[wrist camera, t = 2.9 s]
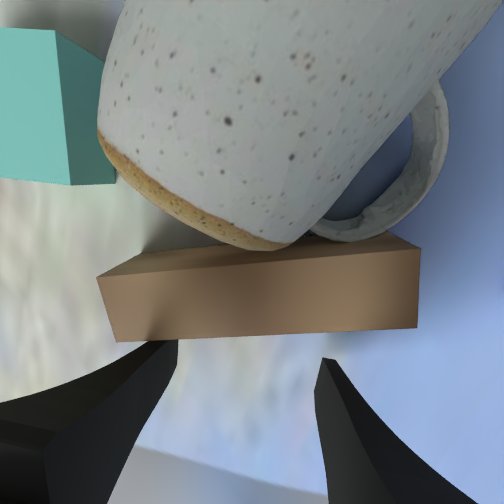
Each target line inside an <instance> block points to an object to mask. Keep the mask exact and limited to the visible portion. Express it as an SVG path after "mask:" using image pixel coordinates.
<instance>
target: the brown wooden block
mask: <svg viewBox="0 0 504 504" xmlns="http://www.w3.org/2000/svg"><path fill="white" fill-rule="evenodd" d="M420 253H421V248H419V247H417V246H415V245H413V244H411V243H409V242H407V241H405V240H403V239H401V238H399V237H398V236H396V235H394V234H392V233H390V232H388V231H385V232H383V233H382V234H379V235H377V236H374V237H372V238H369V239H366V240H360V241H355V242H341V241H333V240H330V239H328V238H325V237H321V236H319V235H317V236H307V237H299V238H298V239H297V240H296V241H294V242H293V243H292V244H290V245H289V246H287V247H284V248H281V249H278V250H274V251H255V250H247V249H243V248H240V247H237V246H233V245H231V244H228V245H218V246H209V247H199V248H189V249H179V250H169V251H159V252H149V253H141V254H139V255H137V256H135V257H133V258H131V259H129V260H127V261H126V262H124V263H122V264H120V265H118V266H116V267H114V268H113V269H111V270H109V271H107V272H105V273H103V274H101V275H100V276H98V277H96V279H97V282H98V285H99V288H100V292H101V295H102V298H103V301H104V304H105V308H106V311H107V314H108V317H109V321H110V324H111V327H112V330H113V333H114V337H115V340H116V342H133V341H154V340H176V339H197V338H218V337H239V336H261V335H282V334H303V333H324V332H346V331H367V330H388V329H409V328H417V322H418V299H419V276H420Z"/></svg>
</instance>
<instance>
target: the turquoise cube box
mask: <svg viewBox="0 0 504 504" xmlns="http://www.w3.org/2000/svg"><path fill="white" fill-rule="evenodd" d="M104 65H105V62H103V61H102V60H100V59H99V58H97V57H96V56H94V55H92V54H91V53H89V52H88V51H86V50H85V49H83V48H81V47H80V46H78V45H77V44H75V43H74V42H72V41H70V40H69V39H67V38H66V37H64V36H63V35H61V34H60V33H58V32H56V31H55V30H39V29H22V28H6V27H0V178H9V179H18V180H27V181H36V182H45V183H53V184H62V185H94V184H115V168H114V166H113V165H112V163H111V162H110V161H109V159H108V158H107V157H106V155H105V153H104V151H103V149H102V146H101V144H100V142H99V139H98V135H97V114H98V106H99V97H100V88H101V80H102V73H103V69H104Z"/></svg>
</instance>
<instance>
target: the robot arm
mask: <svg viewBox="0 0 504 504" xmlns="http://www.w3.org/2000/svg"><path fill="white" fill-rule="evenodd" d="M177 357H178V339H176V340H154V341H148V342H146V343H145V344H143V345H142V346H140V347H138V348H137V349H135V350H134V351H132V352H130V353H128V354H127V355H125V356H123V357H121V358H120V359H118V360H116V361H114V362H113V363H111V364H109V365H107V366H105V367H103V368H101V369H98V370H96V371H94V372H92V373H90V374H87V375H85V376H82V377H80V378H78V379H75V380H73V381H70V382H68V383H65V384H62V385H59V386H57V387H54V388H51V389H48V390H45V391H41V392H38V393H35V394H32V395H28V396H25V397H21V398H17V399H13V400H9V401H6V402H2V403H0V504H107V502H108V500H109V498H110V496H111V493H112V491H113V489H114V486H115V484H116V482H117V480H118V478H119V476H120V473H121V471H122V469H123V467H124V465H125V463H126V460H127V458H128V456H129V454H130V452H131V450H132V448H133V446H134V444H135V442H136V440H137V437H138V436H139V434H140V432H141V430H142V428H143V426H144V425H145V423H146V421H147V420H148V418H149V416H150V415H151V413H152V411H153V410H154V408H155V406H156V405H157V403H158V401H159V399H160V398H161V396H162V394H163V393H164V391H165V389H166V387H167V386H168V384H169V382H170V380H171V377H172V375H173V373H174V371H175V368H176V366H177ZM314 399H315V413H316V420H317V425H318V431H319V437H320V442H321V448H322V453H323V459H324V464H325V471H326V478H327V489H328V500H329V504H478V503H476V502H475V501H474V500H472V499H471V498H470V497H468V496H467V495H466V494H464V493H463V492H462V491H460V490H459V489H458V488H456V487H455V486H453V485H452V484H451V483H450V482H448V481H447V480H446V479H445V478H443V477H442V476H441V475H440V474H439V473H437V472H436V471H435V470H434V469H432V468H431V467H430V466H429V465H428V464H427V463H426V462H424V461H423V460H422V459H421V458H420V457H419V456H418V455H416V454H415V453H414V452H413V451H412V450H411V449H410V448H409V447H408V446H407V445H406V444H405V443H404V442H403V441H401V440H400V439H399V438H398V437H397V436H396V435H395V434H394V432H393V431H392V430H391V429H390V428H389V427H388V426H387V425H386V424H385V423H384V422H383V421H382V420H381V419H380V418H379V416H378V415H377V414H376V413H375V412H374V411H373V409H372V408H371V407H370V406H369V405H368V403H367V402H366V401H365V400H364V398H363V397H362V396H361V395H360V393H359V392H358V391H357V389H356V388H355V387H354V385H353V384H352V383H351V381H350V380H349V378H348V377H347V376H346V374H345V373H344V371H343V370H342V369H341V367H340V366H339V364H338V363H337V361H336V360H334V359H328V358H322V362H321V366H320V370H319V374H318V378H317V382H316V385H315V389H314Z"/></svg>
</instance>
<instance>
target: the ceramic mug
mask: <svg viewBox="0 0 504 504" xmlns="http://www.w3.org/2000/svg"><path fill="white" fill-rule="evenodd" d="M502 2H503V0H125V3H124V7H123V9H122V12H121V14H120V17H119V19H118V22H117V25H116V28H115V31H114V34H113V38H112V41H111V44H110V47H109V50H108V54H107V57H106V61H105V65H104V69H103V73H102V80H101V88H100V97H99V106H98V114H97V135H98V139H99V142H100V144H101V146H102V149H103V151H104V153H105V155H106V157H107V158H108V159H109V161H110V162H111V163H112V165H113V166H114V167H115V168H116V170H117V171H118V172H119V174H120V175H121V176H122V177H123V179H124V180H125V181H126V182H127V183H128V184H130V185H131V186H132V187H133V188H134V189H136V190H137V191H138V192H139V193H140V194H141V195H143V196H144V197H145V198H146V199H148V200H149V201H150V202H152V203H153V204H155V205H156V206H157V207H159V208H160V209H162V210H163V211H165V212H166V213H168V214H170V215H171V216H173V217H175V218H176V219H178V220H180V221H181V222H183V223H185V224H187V225H189V226H191V227H193V228H195V229H197V230H199V231H201V232H203V233H205V234H207V235H209V236H211V237H213V238H215V239H217V240H219V241H222V242H225V243H228V244H231V245H233V246H237V247H240V248H243V249H247V250H255V251H274V250H278V249H281V248H284V247H287V246H289V245H290V244H292V243H293V242H294V241H296V240H297V239H298V238H299V237H300V236H302V235H303V234H304V233H305V232H306V231H307V230H310V231H312V232H314V233H316V234H317V235H319V236H321V237H325V238H328V239H330V240H333V241H341V242H355V241H360V240H366V239H369V238H372V237H374V236H377V235H379V234H382V233H383V232H385V231H386V230H388V229H390V228H391V227H393V226H394V225H395V224H397V223H398V222H400V221H401V220H402V219H403V218H405V217H406V216H407V215H408V214H409V213H410V212H411V211H412V210H413V209H414V208H415V207H416V206H417V205H418V204H419V203H420V202H421V201H422V200H423V198H424V197H425V196H426V195H427V193H428V192H429V190H430V189H431V187H432V186H433V184H434V182H435V181H436V179H437V177H438V175H439V173H440V171H441V169H442V166H443V164H444V161H445V157H446V153H447V149H448V141H449V129H450V125H449V113H448V106H447V102H446V98H445V95H444V92H443V89H442V87H441V84H440V81H439V79H440V78H441V76H442V75H443V74H444V73H445V72H446V71H447V70H448V68H449V67H450V66H451V65H452V64H453V63H454V62H455V60H456V59H457V58H458V57H459V56H460V55H461V54H462V52H463V51H464V50H465V49H466V48H467V47H468V45H469V44H470V43H471V42H472V41H473V39H474V38H475V37H476V36H477V35H478V33H479V32H480V31H481V30H482V29H483V28H484V26H485V25H486V24H487V23H488V21H489V20H490V18H491V17H492V16H493V14H494V13H495V11H496V10H497V9H498V7H499V6H500V4H501V3H502ZM409 113H410V115H411V120H412V126H413V138H412V147H411V151H410V156H409V159H408V162H407V164H406V165H405V166H404V168H403V171H402V173H401V174H400V175H399V177H398V178H397V179H396V180H395V181H394V182H393V183H392V184H391V185H390V186H389V187H388V189H387V190H385V191H384V192H383V193H382V194H381V195H380V196H379V197H378V198H377V199H376V200H375V201H374V202H373V203H372V204H371V205H369V206H366V207H365V208H364V210H363V211H362V212H361V213H360V215H359V216H357V217H354V218H351V219H347V220H340V221H330V220H327V219H321V217H322V216H323V215H324V214H325V213H326V212H327V211H328V210H329V209H330V207H331V206H332V205H333V204H334V203H335V201H336V200H337V199H338V198H339V197H340V195H341V194H342V193H343V191H344V190H345V189H346V187H347V186H348V185H349V183H350V182H351V181H352V179H353V178H354V177H355V176H356V174H357V173H358V172H359V171H360V169H361V168H362V167H363V166H364V165H365V163H366V162H367V161H368V160H369V159H370V158H371V157H372V155H373V154H374V153H375V152H376V151H377V150H378V149H379V148H380V146H381V145H382V144H383V143H384V142H385V141H386V140H387V138H388V137H389V136H390V135H391V134H392V133H393V132H394V130H395V129H396V128H397V127H398V126H399V125H400V123H401V122H402V121H403V120H404V119H405V118H406V117H407V115H408V114H409Z"/></svg>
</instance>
